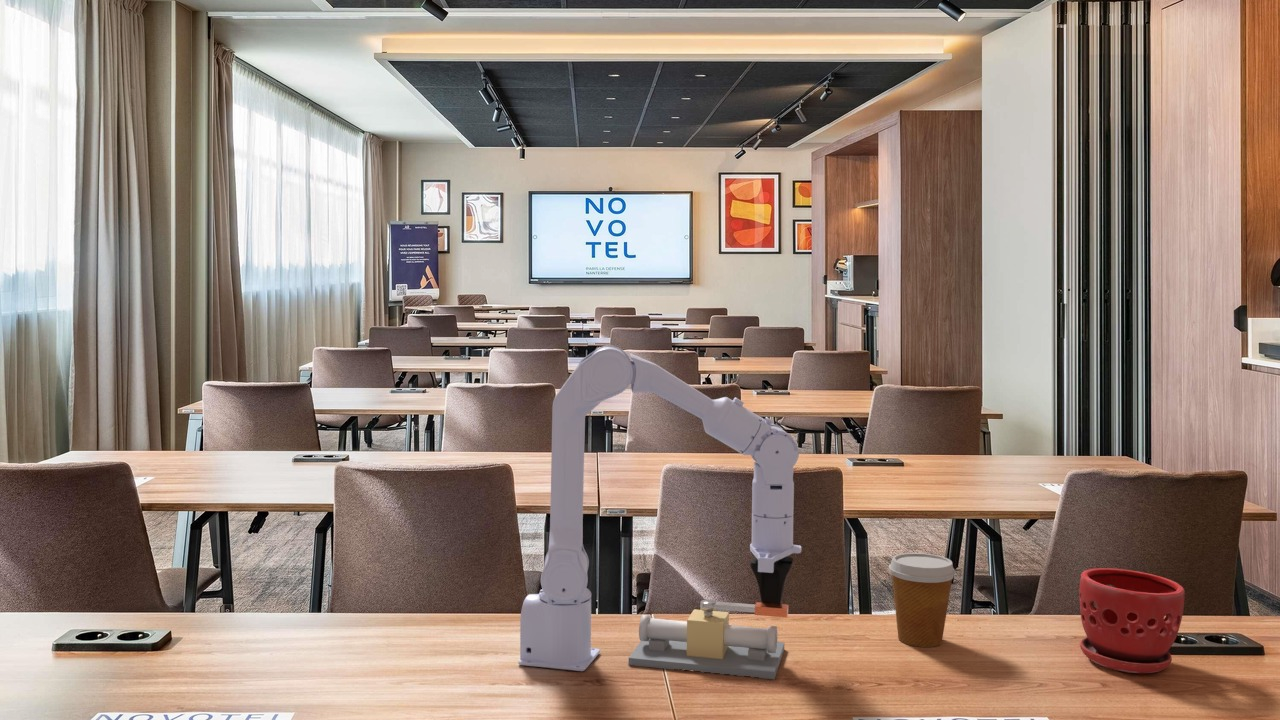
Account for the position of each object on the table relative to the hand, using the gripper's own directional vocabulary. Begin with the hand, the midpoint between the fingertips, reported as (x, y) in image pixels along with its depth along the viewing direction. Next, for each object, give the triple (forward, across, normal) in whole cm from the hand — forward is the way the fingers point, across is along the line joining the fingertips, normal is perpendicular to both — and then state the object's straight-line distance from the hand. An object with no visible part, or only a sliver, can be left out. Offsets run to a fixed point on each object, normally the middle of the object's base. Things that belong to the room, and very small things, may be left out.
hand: (771, 610), depth 143 cm
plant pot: (+7, +12, -48) cm, 50 cm away
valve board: (+7, -2, +9) cm, 11 cm away
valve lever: (0, -2, +4) cm, 4 cm away
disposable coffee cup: (+7, +14, -20) cm, 26 cm away
